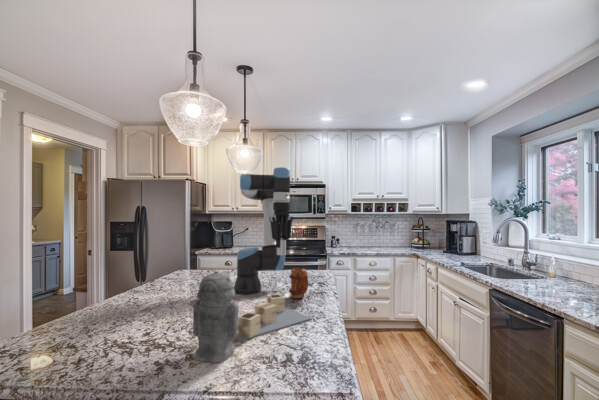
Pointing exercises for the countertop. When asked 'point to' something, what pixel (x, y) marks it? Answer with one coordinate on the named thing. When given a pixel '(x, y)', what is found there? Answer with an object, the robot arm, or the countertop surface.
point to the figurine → (215, 318)
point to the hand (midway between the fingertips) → (281, 254)
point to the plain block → (266, 312)
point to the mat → (279, 323)
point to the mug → (298, 283)
